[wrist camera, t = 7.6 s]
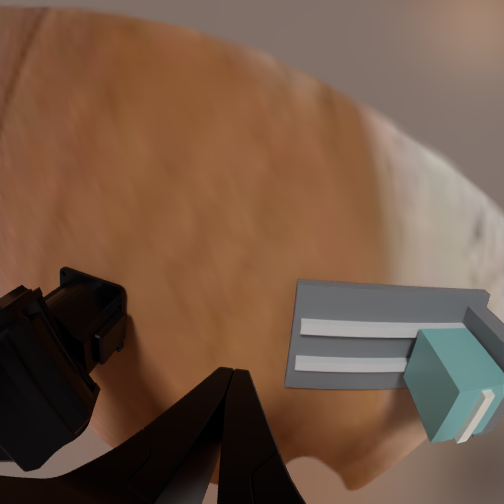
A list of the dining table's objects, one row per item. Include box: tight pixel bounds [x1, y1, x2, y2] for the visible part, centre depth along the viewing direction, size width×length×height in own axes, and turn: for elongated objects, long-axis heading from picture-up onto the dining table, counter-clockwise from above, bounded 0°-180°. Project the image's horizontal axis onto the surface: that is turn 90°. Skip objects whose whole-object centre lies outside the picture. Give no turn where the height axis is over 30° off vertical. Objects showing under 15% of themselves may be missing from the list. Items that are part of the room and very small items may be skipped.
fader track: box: [284, 279, 504, 437], centre depth 18 cm, size 16×9×8 cm, turn 87°
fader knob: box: [403, 328, 504, 443], centre depth 16 cm, size 4×4×8 cm
